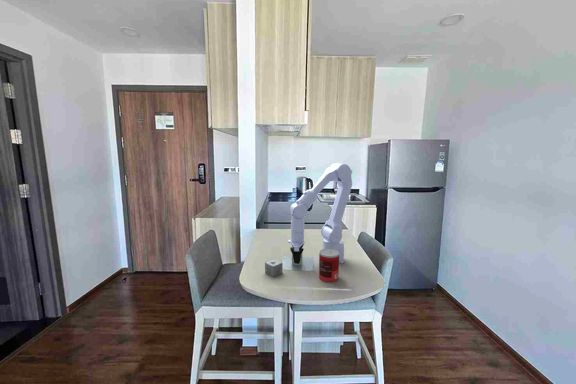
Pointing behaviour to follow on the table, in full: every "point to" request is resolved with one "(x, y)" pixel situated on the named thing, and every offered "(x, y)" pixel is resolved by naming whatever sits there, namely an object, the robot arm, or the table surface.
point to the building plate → (306, 265)
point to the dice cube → (273, 267)
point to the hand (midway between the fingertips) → (297, 260)
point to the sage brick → (300, 260)
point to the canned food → (328, 265)
